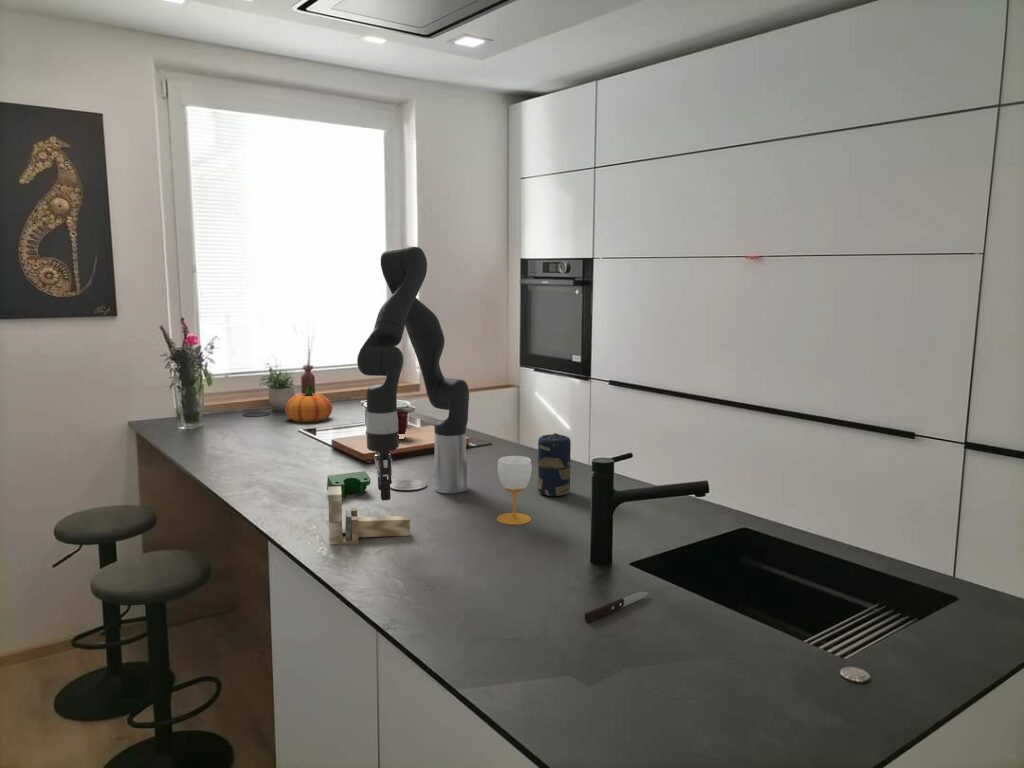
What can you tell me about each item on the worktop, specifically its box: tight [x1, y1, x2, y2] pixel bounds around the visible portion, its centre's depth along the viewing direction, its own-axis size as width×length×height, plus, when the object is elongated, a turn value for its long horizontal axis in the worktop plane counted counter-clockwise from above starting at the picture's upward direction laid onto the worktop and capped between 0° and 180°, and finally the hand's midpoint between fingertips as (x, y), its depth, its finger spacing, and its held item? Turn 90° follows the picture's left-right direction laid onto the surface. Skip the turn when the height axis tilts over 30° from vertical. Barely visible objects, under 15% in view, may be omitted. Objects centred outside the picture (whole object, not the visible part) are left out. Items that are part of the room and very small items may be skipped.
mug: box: [397, 407, 408, 434], centre depth 284 cm, size 12×9×11 cm
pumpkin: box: [284, 385, 333, 423], centre depth 318 cm, size 19×19×15 cm
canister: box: [537, 432, 572, 497], centre depth 214 cm, size 10×10×18 cm
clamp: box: [326, 470, 371, 499], centre depth 212 cm, size 12×6×9 cm, turn 113°
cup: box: [496, 455, 533, 526], centre depth 191 cm, size 9×9×16 cm
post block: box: [327, 486, 360, 546], centre depth 176 cm, size 7×9×12 cm
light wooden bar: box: [344, 509, 411, 539], centre depth 179 cm, size 15×5×6 cm, turn 104°
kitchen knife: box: [584, 591, 649, 624], centre depth 141 cm, size 18×1×2 cm, turn 131°
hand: (384, 494), depth 178 cm, fingers open, 8 cm apart
